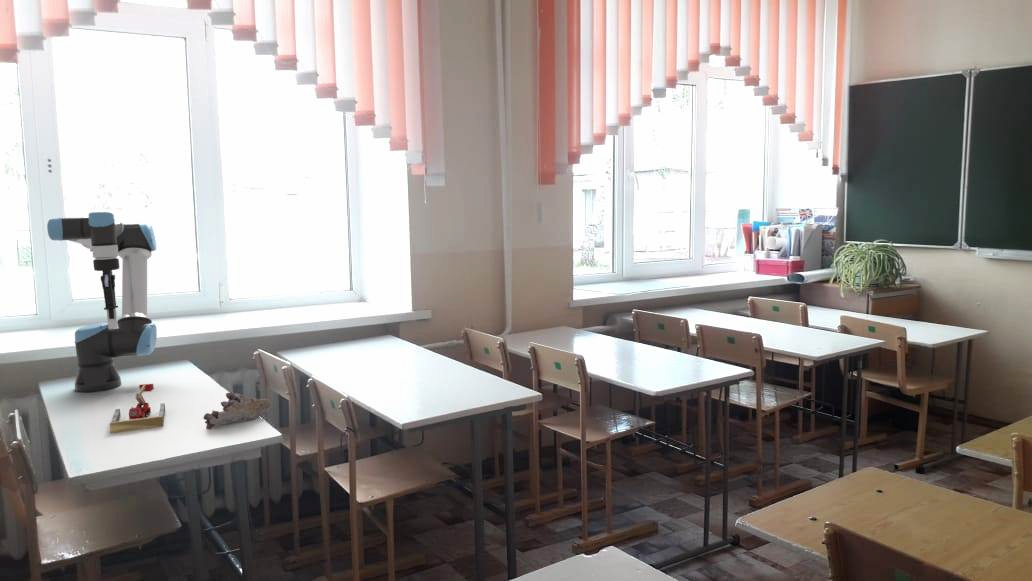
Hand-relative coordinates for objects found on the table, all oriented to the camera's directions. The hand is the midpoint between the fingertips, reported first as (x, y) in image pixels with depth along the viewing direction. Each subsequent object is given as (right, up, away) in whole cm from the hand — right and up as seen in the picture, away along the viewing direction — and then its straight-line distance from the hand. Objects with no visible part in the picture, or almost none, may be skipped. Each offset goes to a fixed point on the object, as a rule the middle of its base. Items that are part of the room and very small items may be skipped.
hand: (113, 327), depth 259 cm
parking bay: (+16, -28, -16) cm, 36 cm away
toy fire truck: (+16, -28, -12) cm, 34 cm away
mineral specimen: (+49, -29, -19) cm, 60 cm away
